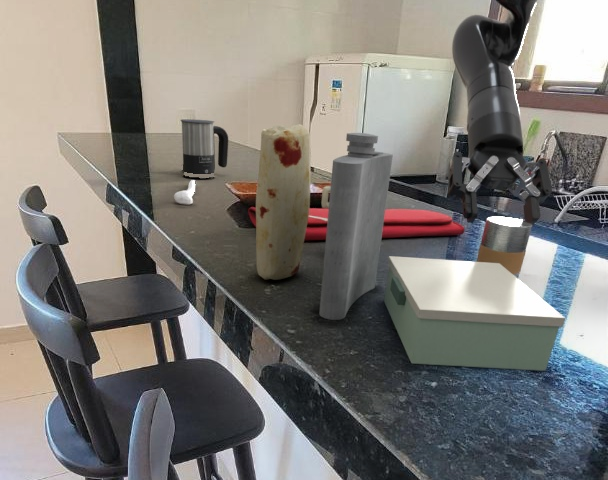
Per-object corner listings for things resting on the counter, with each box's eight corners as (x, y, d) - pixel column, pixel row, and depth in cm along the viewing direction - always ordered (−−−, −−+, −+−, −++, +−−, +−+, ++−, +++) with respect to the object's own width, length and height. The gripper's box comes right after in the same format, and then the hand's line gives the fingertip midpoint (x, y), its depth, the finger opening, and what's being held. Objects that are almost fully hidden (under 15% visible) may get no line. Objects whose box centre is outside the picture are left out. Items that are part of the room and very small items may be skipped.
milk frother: (199, 180, 145) (198, 121, 138) (158, 173, 152) (155, 116, 146) (232, 176, 156) (233, 121, 149) (193, 169, 163) (192, 116, 156)
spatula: (181, 183, 139) (181, 172, 138) (197, 184, 140) (197, 173, 138) (173, 204, 114) (172, 191, 113) (192, 205, 115) (192, 192, 114)
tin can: (505, 285, 80) (522, 218, 75) (520, 299, 74) (540, 228, 70) (465, 282, 79) (480, 215, 75) (478, 297, 74) (494, 225, 69)
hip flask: (340, 321, 62) (360, 137, 53) (308, 314, 63) (322, 134, 54) (377, 284, 75) (398, 132, 66) (350, 279, 77) (367, 129, 68)
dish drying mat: (465, 237, 107) (469, 218, 105) (274, 244, 91) (275, 222, 89) (420, 219, 120) (423, 202, 118) (246, 223, 104) (247, 203, 102)
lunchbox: (493, 307, 71) (504, 263, 68) (554, 372, 54) (571, 318, 51) (377, 300, 70) (383, 255, 67) (403, 364, 53) (413, 308, 51)
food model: (286, 289, 71) (296, 126, 62) (242, 280, 73) (245, 121, 64) (312, 270, 79) (324, 125, 70) (271, 263, 81) (278, 120, 72)
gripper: (455, 105, 76) (461, 202, 71) (552, 113, 76) (565, 210, 71) (439, 142, 83) (444, 232, 78) (528, 149, 83) (538, 239, 78)
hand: (502, 222), depth 75 cm, fingers open, 8 cm apart
